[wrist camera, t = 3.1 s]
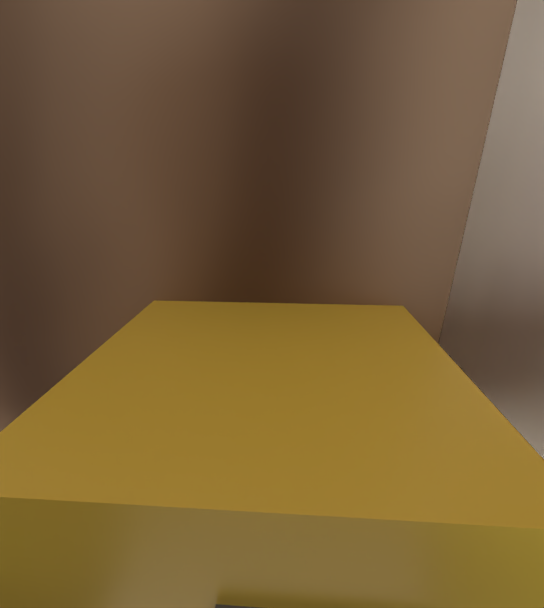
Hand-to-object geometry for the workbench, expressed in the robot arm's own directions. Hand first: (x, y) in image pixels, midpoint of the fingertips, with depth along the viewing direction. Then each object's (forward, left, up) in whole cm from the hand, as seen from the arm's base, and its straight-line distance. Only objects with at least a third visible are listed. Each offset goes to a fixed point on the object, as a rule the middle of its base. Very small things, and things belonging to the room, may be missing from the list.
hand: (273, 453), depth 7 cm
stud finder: (0, 0, -1) cm, 1 cm away
